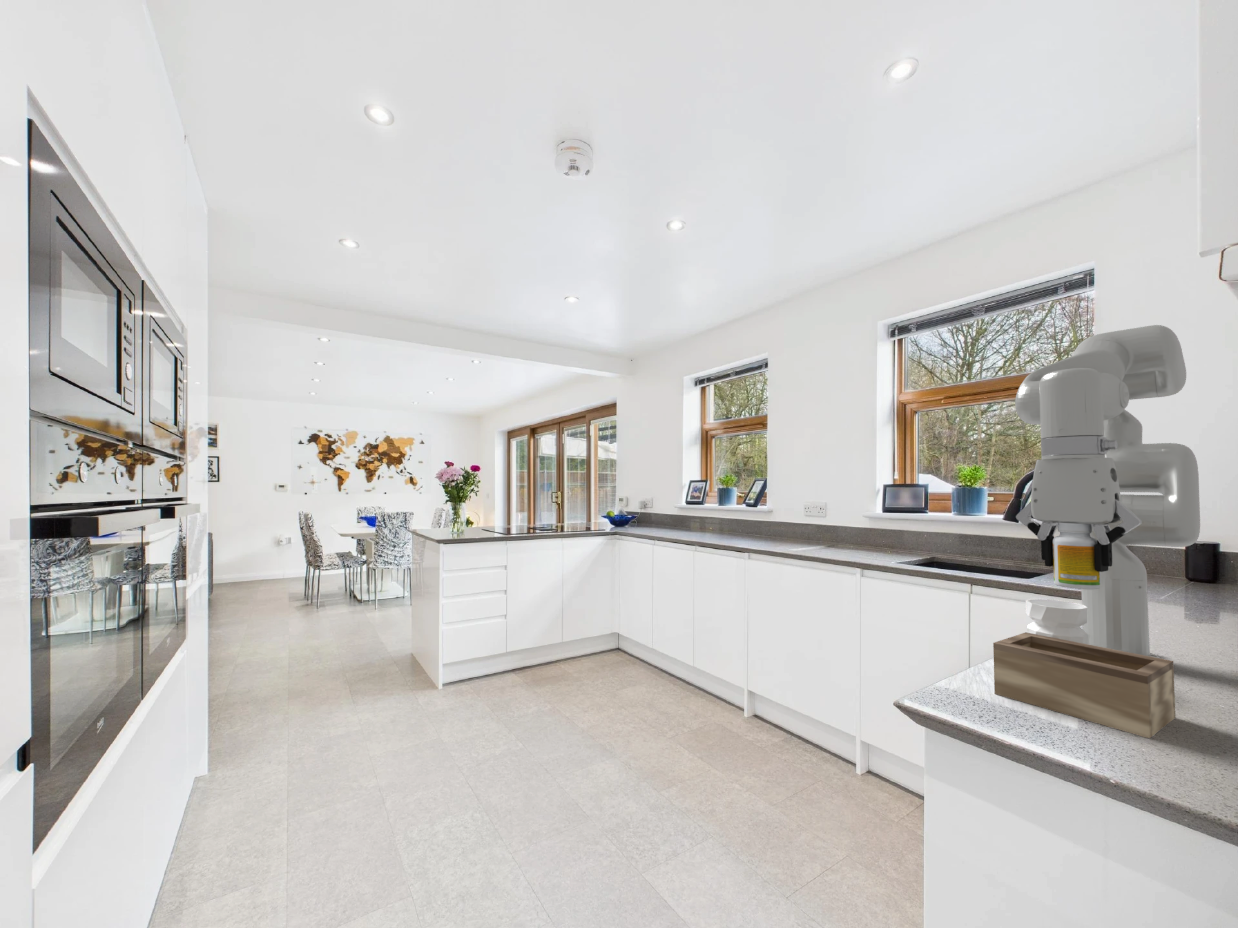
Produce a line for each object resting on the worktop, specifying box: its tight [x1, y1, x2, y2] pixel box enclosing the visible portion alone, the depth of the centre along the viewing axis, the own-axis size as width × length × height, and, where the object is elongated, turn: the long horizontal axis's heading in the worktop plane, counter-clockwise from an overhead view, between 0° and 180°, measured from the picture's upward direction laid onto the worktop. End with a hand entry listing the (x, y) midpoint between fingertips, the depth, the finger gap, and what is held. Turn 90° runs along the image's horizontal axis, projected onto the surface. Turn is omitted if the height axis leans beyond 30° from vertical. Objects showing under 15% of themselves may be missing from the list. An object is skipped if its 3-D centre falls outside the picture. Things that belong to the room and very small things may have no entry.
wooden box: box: [992, 631, 1176, 739], centre depth 81 cm, size 12×18×8 cm, turn 33°
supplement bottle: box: [1052, 523, 1100, 590], centre depth 82 cm, size 5×5×10 cm
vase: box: [1025, 598, 1089, 645], centre depth 97 cm, size 9×9×12 cm
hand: (1075, 567), depth 82 cm, fingers closed on supplement bottle, 5 cm apart
